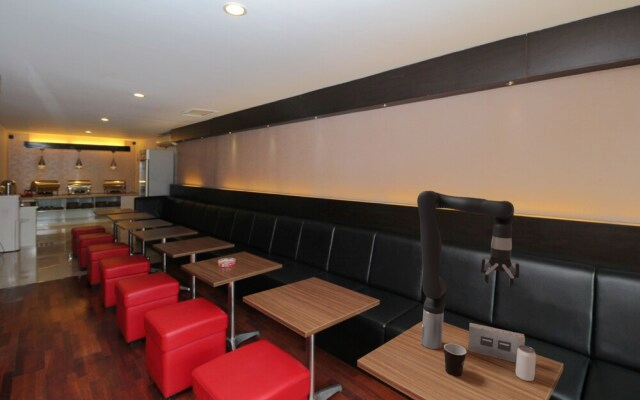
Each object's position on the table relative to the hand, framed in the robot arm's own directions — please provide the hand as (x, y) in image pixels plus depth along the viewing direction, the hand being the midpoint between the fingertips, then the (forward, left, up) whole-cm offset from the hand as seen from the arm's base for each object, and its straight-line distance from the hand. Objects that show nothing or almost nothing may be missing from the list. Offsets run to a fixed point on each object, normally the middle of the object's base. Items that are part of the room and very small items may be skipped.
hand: (498, 284), depth 133 cm
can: (+12, -3, -36) cm, 38 cm away
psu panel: (+1, +9, -36) cm, 37 cm away
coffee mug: (-14, -13, -36) cm, 41 cm away
